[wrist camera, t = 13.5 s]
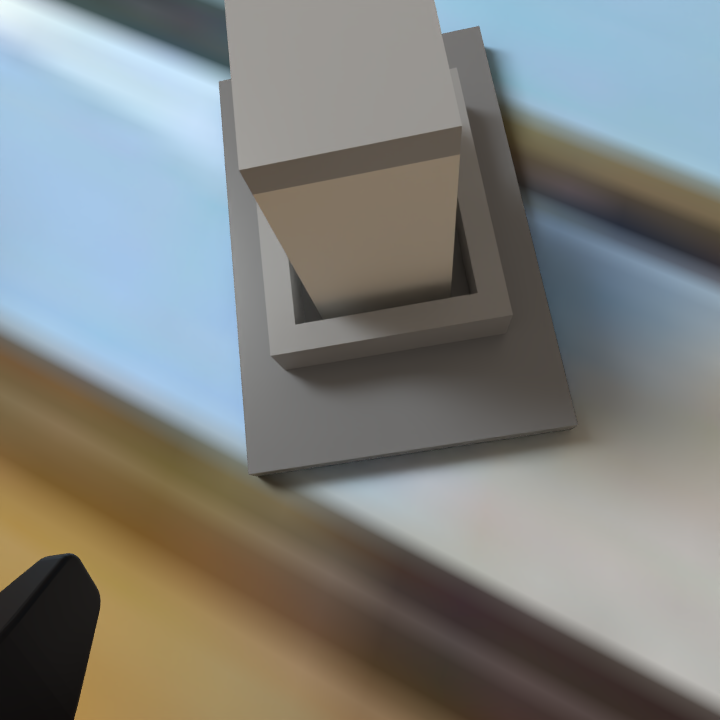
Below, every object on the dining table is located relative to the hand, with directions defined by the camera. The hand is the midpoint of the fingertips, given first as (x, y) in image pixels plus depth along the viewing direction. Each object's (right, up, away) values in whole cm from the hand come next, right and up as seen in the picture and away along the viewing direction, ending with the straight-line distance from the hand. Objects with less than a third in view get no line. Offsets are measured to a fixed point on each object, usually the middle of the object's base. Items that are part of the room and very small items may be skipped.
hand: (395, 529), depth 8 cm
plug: (0, +8, +15) cm, 17 cm away
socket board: (0, +7, +16) cm, 18 cm away
